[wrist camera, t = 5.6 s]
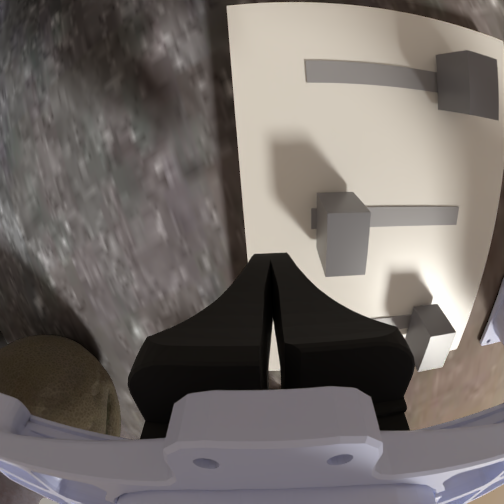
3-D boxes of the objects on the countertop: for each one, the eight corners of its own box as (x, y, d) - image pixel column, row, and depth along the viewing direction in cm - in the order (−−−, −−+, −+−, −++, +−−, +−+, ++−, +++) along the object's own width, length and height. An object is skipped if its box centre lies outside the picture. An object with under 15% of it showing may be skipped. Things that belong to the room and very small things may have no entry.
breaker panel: (486, 42, 13) (503, 41, 11) (447, 334, 24) (457, 349, 22) (230, 15, 14) (226, 5, 12) (258, 353, 25) (257, 372, 23)
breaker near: (463, 61, 12) (497, 59, 9) (465, 114, 14) (498, 120, 11) (435, 54, 12) (467, 50, 9) (437, 109, 14) (469, 114, 11)
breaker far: (437, 303, 19) (456, 332, 16) (427, 337, 21) (442, 367, 18) (413, 306, 19) (430, 336, 17) (404, 341, 21) (417, 371, 18)
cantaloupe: (28, 274, 23) (-75, 393, 9) (160, 360, 26) (111, 517, 12) (17, 354, 28) (-42, 447, 15) (116, 417, 31) (80, 523, 18)
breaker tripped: (353, 191, 16) (370, 212, 13) (350, 246, 18) (365, 274, 15) (316, 192, 16) (327, 213, 14) (316, 247, 18) (325, 277, 15)
